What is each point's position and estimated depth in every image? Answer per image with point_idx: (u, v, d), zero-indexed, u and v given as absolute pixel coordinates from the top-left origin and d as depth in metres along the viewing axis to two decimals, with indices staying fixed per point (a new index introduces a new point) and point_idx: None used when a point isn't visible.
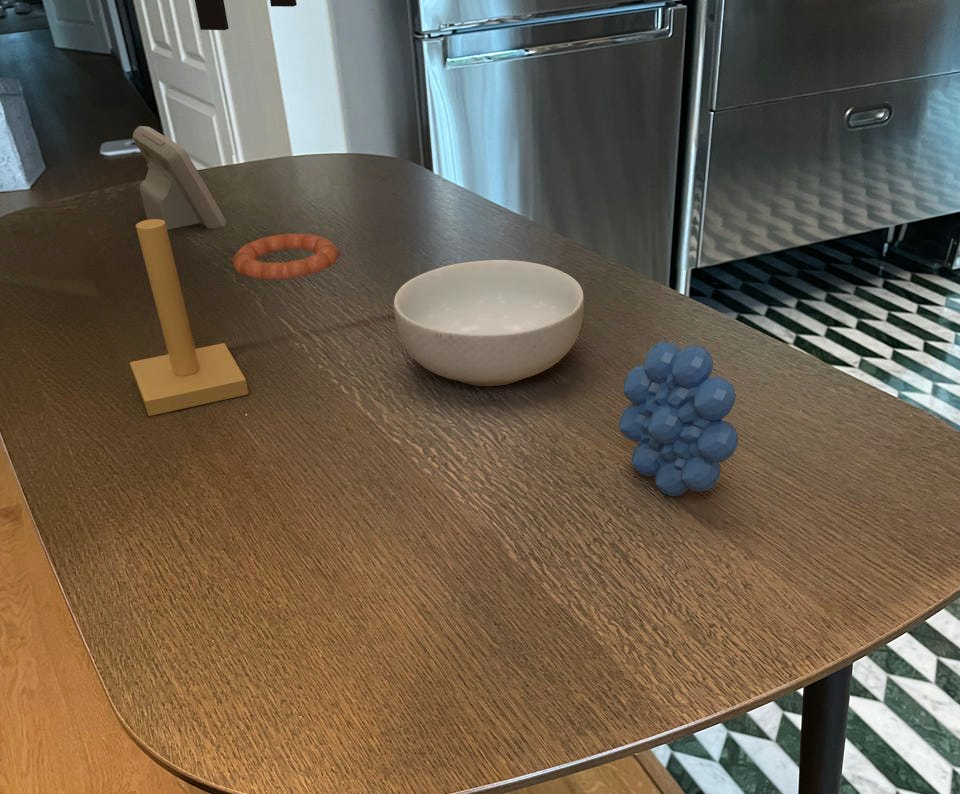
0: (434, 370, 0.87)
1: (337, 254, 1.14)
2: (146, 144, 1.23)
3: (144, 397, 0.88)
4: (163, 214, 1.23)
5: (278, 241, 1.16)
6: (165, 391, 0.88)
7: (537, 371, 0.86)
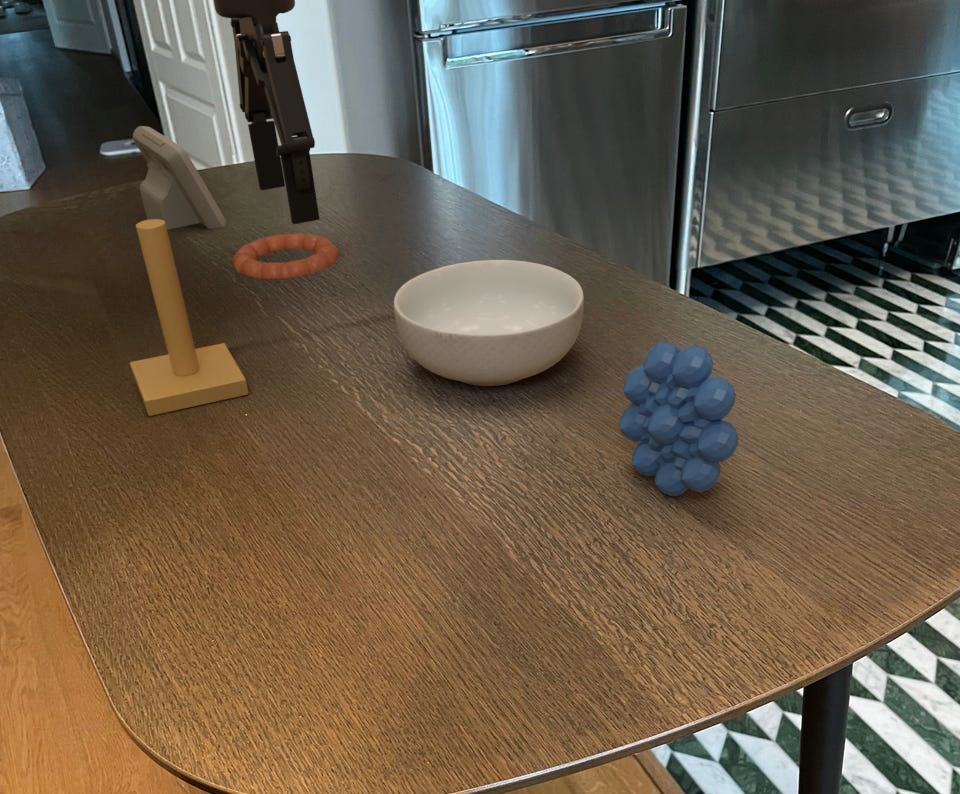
0: (434, 370, 0.87)
1: (337, 254, 1.14)
2: (146, 144, 1.23)
3: (144, 397, 0.88)
4: (163, 214, 1.23)
5: (278, 241, 1.16)
6: (165, 391, 0.88)
7: (537, 371, 0.86)
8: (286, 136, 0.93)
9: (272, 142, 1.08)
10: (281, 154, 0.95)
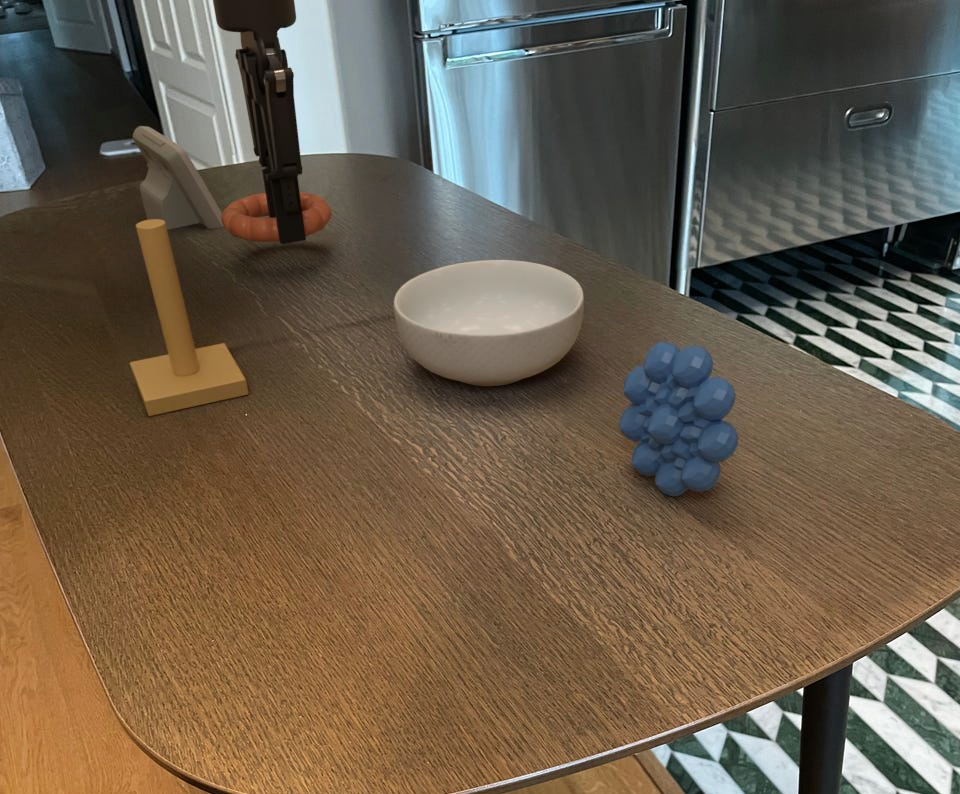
0: (434, 370, 0.87)
1: (329, 211, 1.11)
2: (146, 144, 1.23)
3: (144, 397, 0.88)
4: (163, 214, 1.23)
5: None
6: (165, 391, 0.88)
7: (537, 371, 0.86)
8: (276, 165, 0.99)
9: None
10: (270, 180, 1.02)
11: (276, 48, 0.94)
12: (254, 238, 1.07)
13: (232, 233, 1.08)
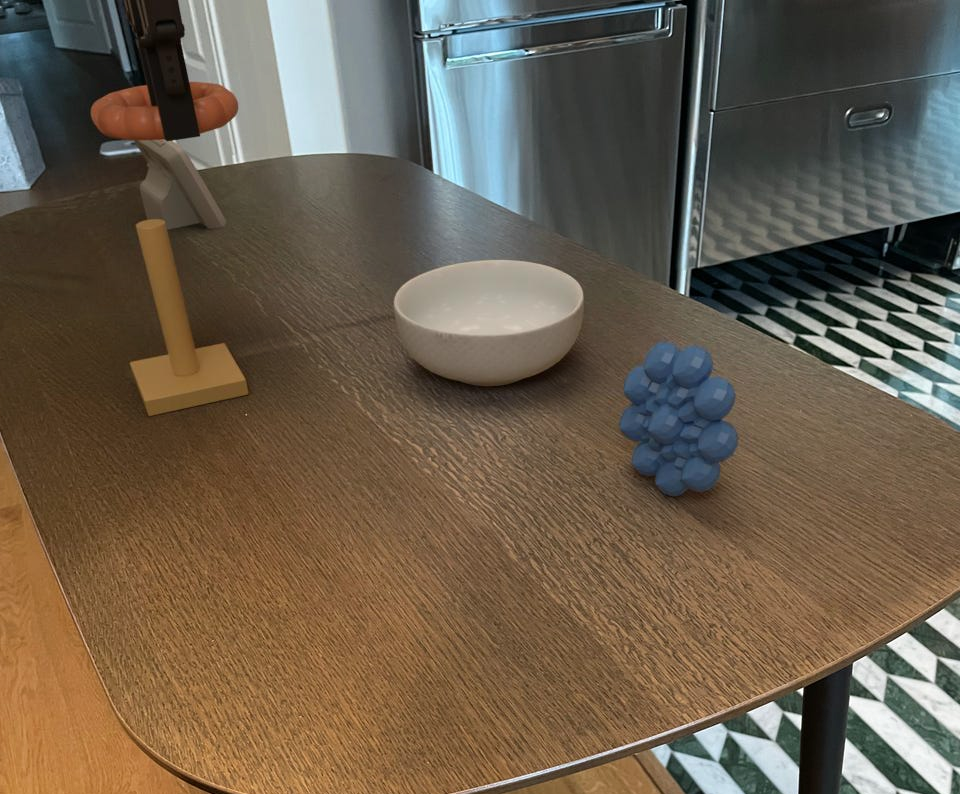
0: (434, 370, 0.87)
1: (234, 102, 0.84)
2: (146, 144, 1.23)
3: (144, 397, 0.88)
4: (163, 214, 1.23)
5: None
6: (165, 391, 0.88)
7: (537, 371, 0.86)
8: (147, 22, 0.72)
9: None
10: (143, 47, 0.75)
11: None
12: (131, 135, 0.80)
13: (103, 130, 0.81)
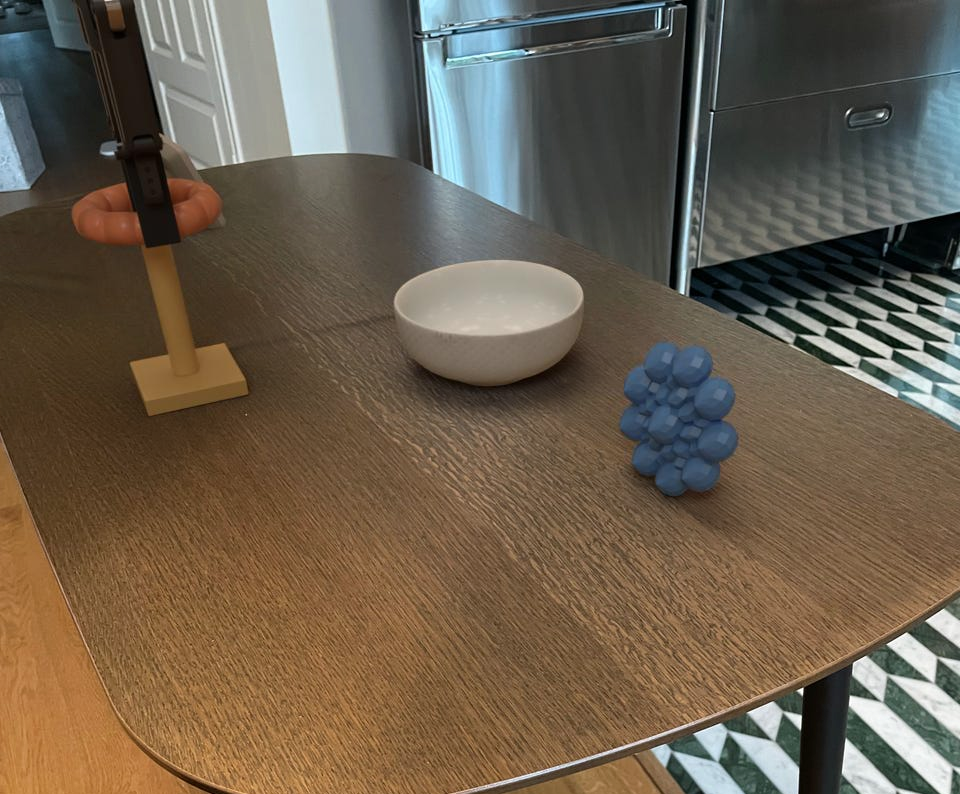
0: (434, 370, 0.87)
1: (218, 203, 0.82)
2: None
3: (144, 397, 0.88)
4: None
5: None
6: (165, 391, 0.88)
7: (537, 371, 0.86)
8: (124, 137, 0.71)
9: None
10: (121, 159, 0.73)
11: None
12: (111, 241, 0.79)
13: (83, 234, 0.80)
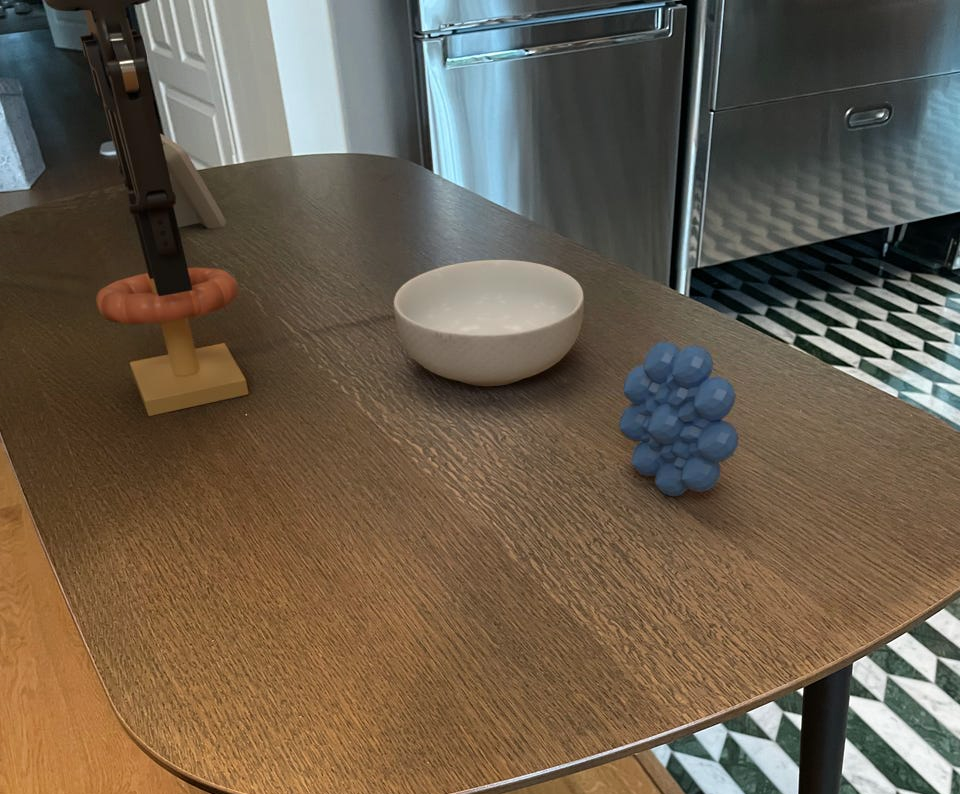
0: (434, 370, 0.87)
1: (234, 285, 0.86)
2: None
3: (144, 397, 0.88)
4: None
5: None
6: (165, 391, 0.88)
7: (537, 371, 0.86)
8: (138, 193, 0.73)
9: None
10: (134, 213, 0.75)
11: (124, 33, 0.68)
12: (132, 320, 0.83)
13: (106, 316, 0.84)
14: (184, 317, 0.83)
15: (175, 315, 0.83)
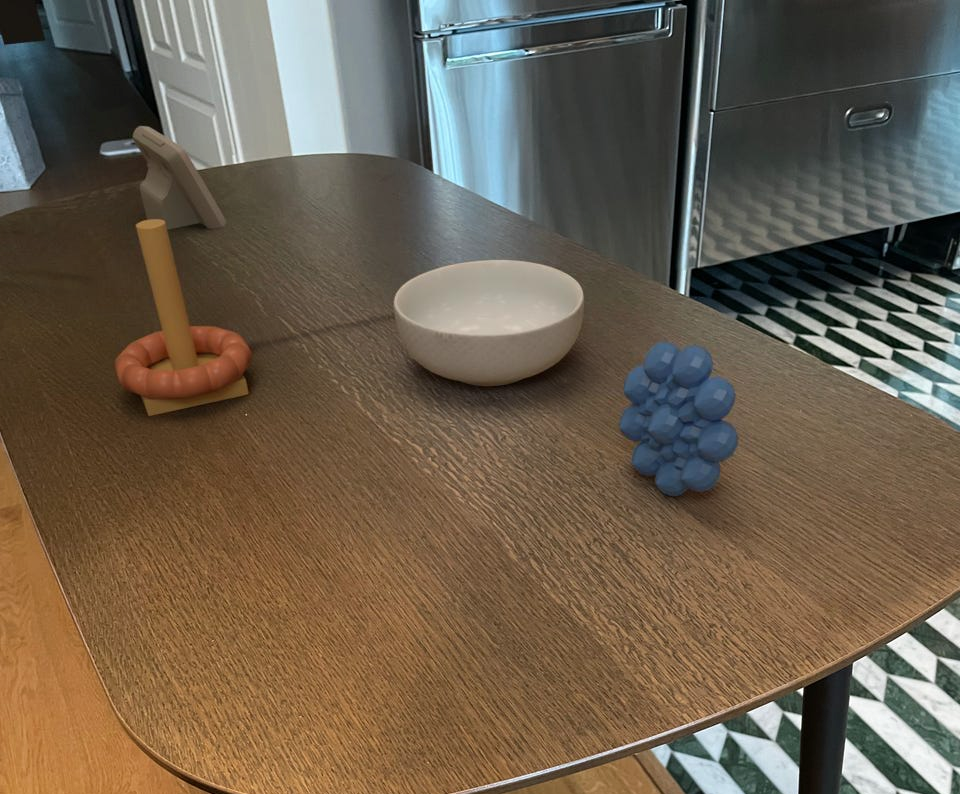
0: (434, 370, 0.87)
1: (248, 355, 0.90)
2: (146, 144, 1.23)
3: (144, 397, 0.88)
4: (163, 214, 1.23)
5: None
6: None
7: (537, 371, 0.86)
8: None
9: None
10: None
11: None
12: (152, 396, 0.86)
13: (126, 388, 0.88)
14: (202, 394, 0.87)
15: (193, 393, 0.86)
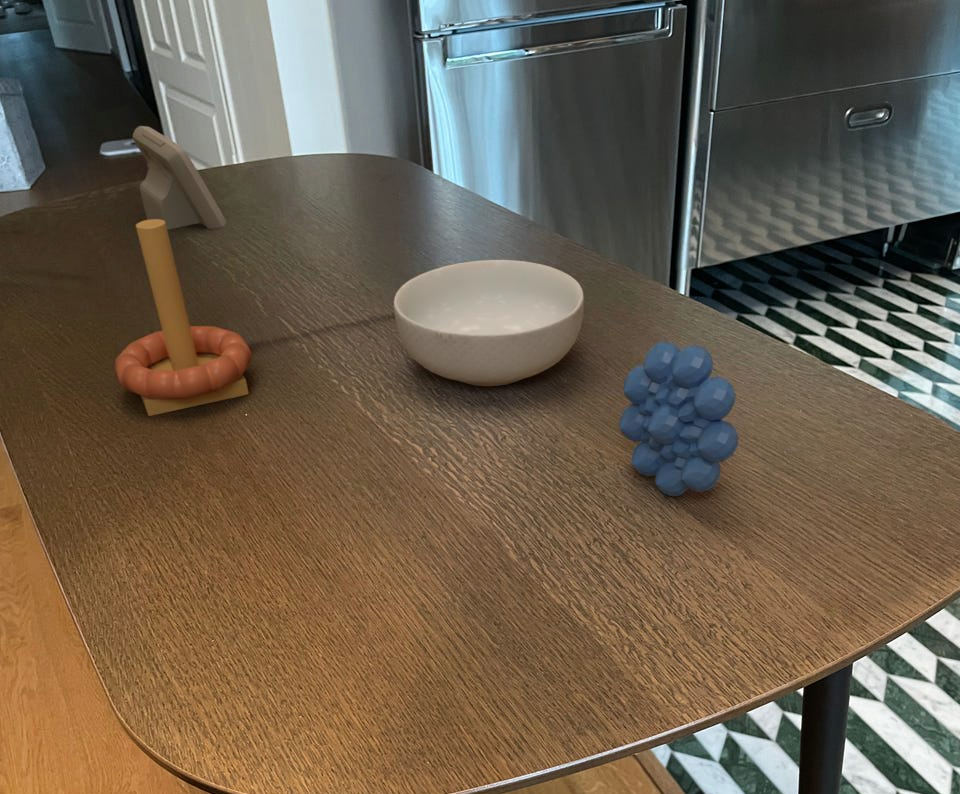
0: (434, 370, 0.87)
1: (248, 355, 0.90)
2: (146, 144, 1.23)
3: (144, 397, 0.88)
4: (163, 214, 1.23)
5: None
6: None
7: (537, 371, 0.86)
8: None
9: None
10: None
11: None
12: (152, 396, 0.86)
13: (126, 388, 0.88)
14: (202, 394, 0.87)
15: (193, 393, 0.86)
